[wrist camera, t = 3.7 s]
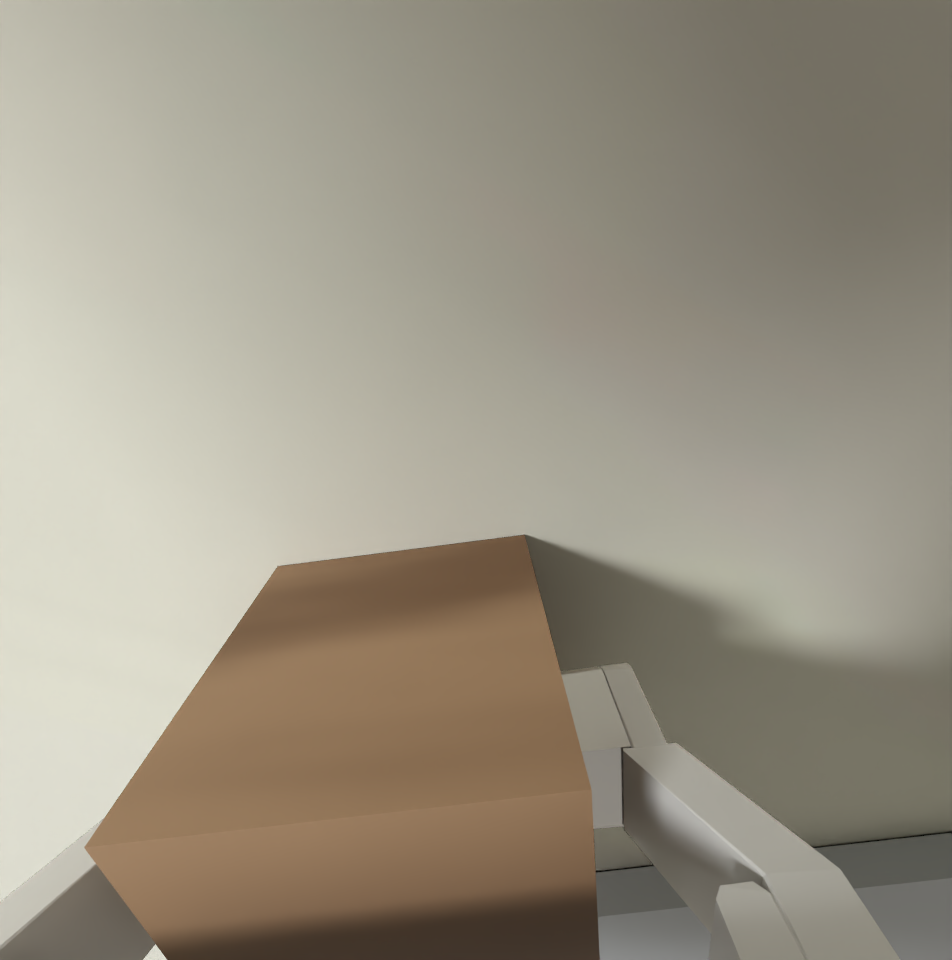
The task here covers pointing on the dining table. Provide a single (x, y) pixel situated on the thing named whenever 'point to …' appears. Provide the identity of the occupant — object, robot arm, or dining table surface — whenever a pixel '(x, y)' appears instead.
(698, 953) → the board
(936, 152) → the dining table surface
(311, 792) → the walnut brick
